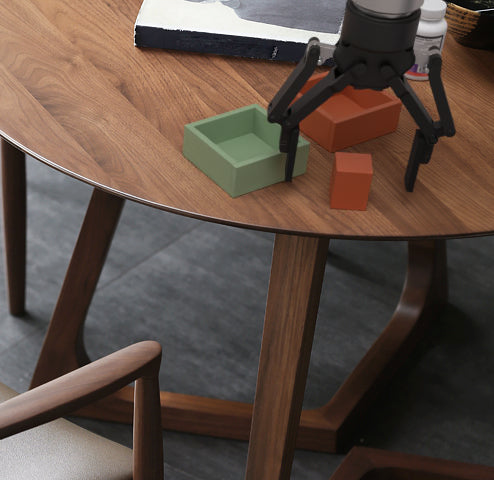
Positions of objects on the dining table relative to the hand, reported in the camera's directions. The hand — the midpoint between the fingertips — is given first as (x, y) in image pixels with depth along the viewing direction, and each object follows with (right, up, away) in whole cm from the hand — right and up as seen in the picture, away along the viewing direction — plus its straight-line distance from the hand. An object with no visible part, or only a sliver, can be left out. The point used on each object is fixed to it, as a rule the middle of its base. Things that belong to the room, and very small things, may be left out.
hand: (347, 180), depth 122 cm
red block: (0, -2, +2) cm, 2 cm away
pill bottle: (+14, +19, +24) cm, 34 cm away
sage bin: (-11, +3, +7) cm, 13 cm away
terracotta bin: (+2, +10, +14) cm, 17 cm away
